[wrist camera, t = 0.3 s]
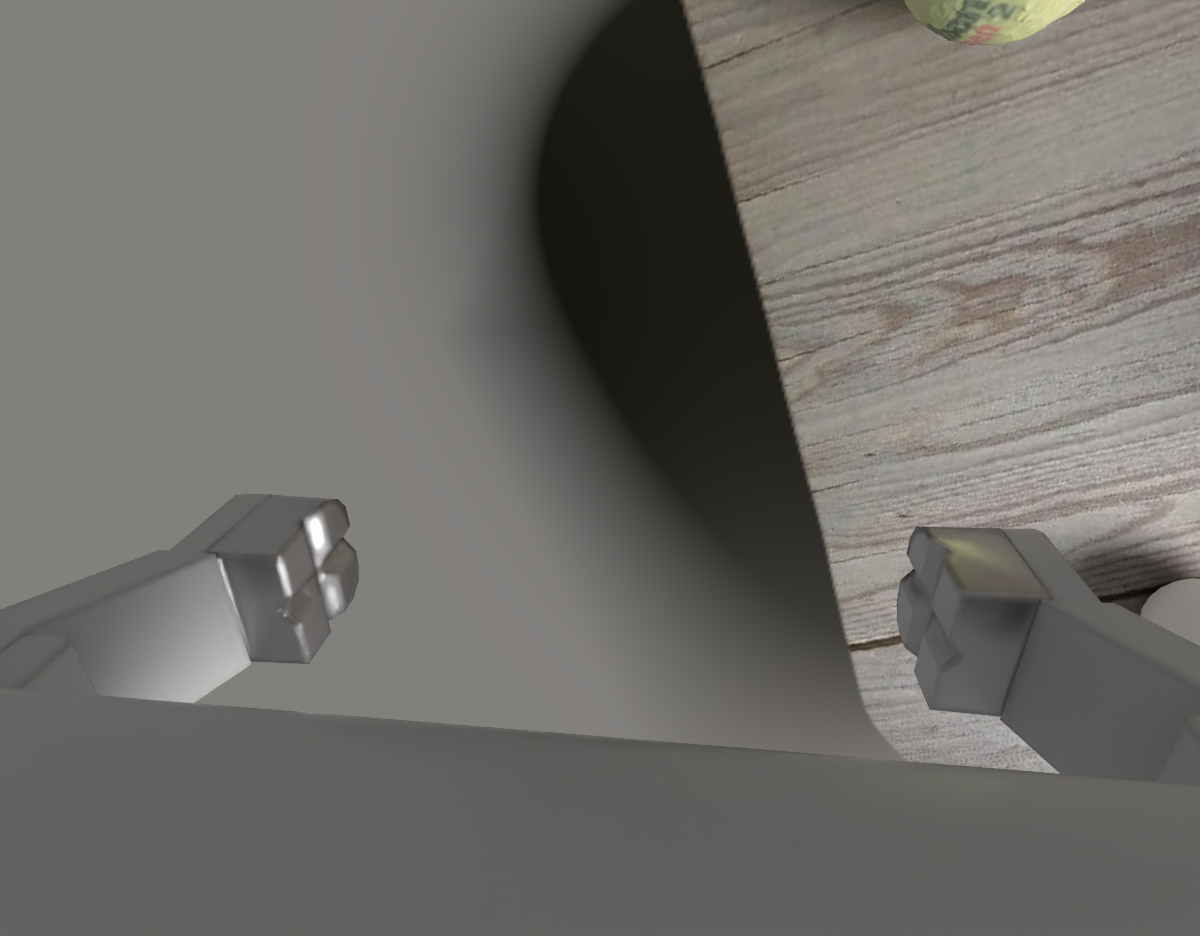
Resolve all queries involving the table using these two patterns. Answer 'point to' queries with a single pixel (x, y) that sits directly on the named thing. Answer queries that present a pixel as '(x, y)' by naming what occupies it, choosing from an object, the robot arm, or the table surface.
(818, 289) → the table surface
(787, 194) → the table surface
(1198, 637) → the figurine
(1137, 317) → the table surface
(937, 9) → the tennis ball
